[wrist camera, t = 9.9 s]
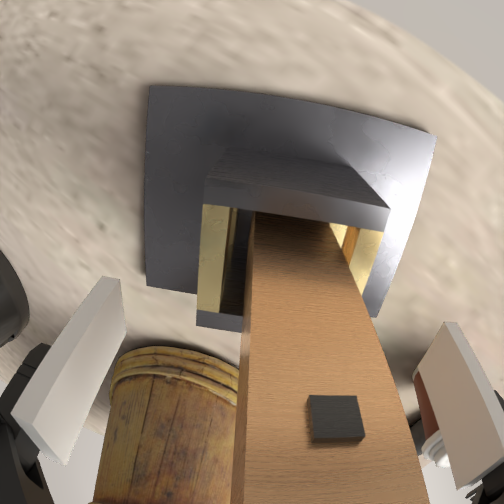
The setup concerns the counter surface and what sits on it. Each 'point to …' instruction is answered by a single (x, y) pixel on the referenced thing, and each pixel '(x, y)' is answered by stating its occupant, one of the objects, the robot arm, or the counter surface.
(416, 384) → the coffee cup
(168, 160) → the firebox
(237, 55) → the counter surface
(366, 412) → the tapered wooden post
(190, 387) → the tankard
